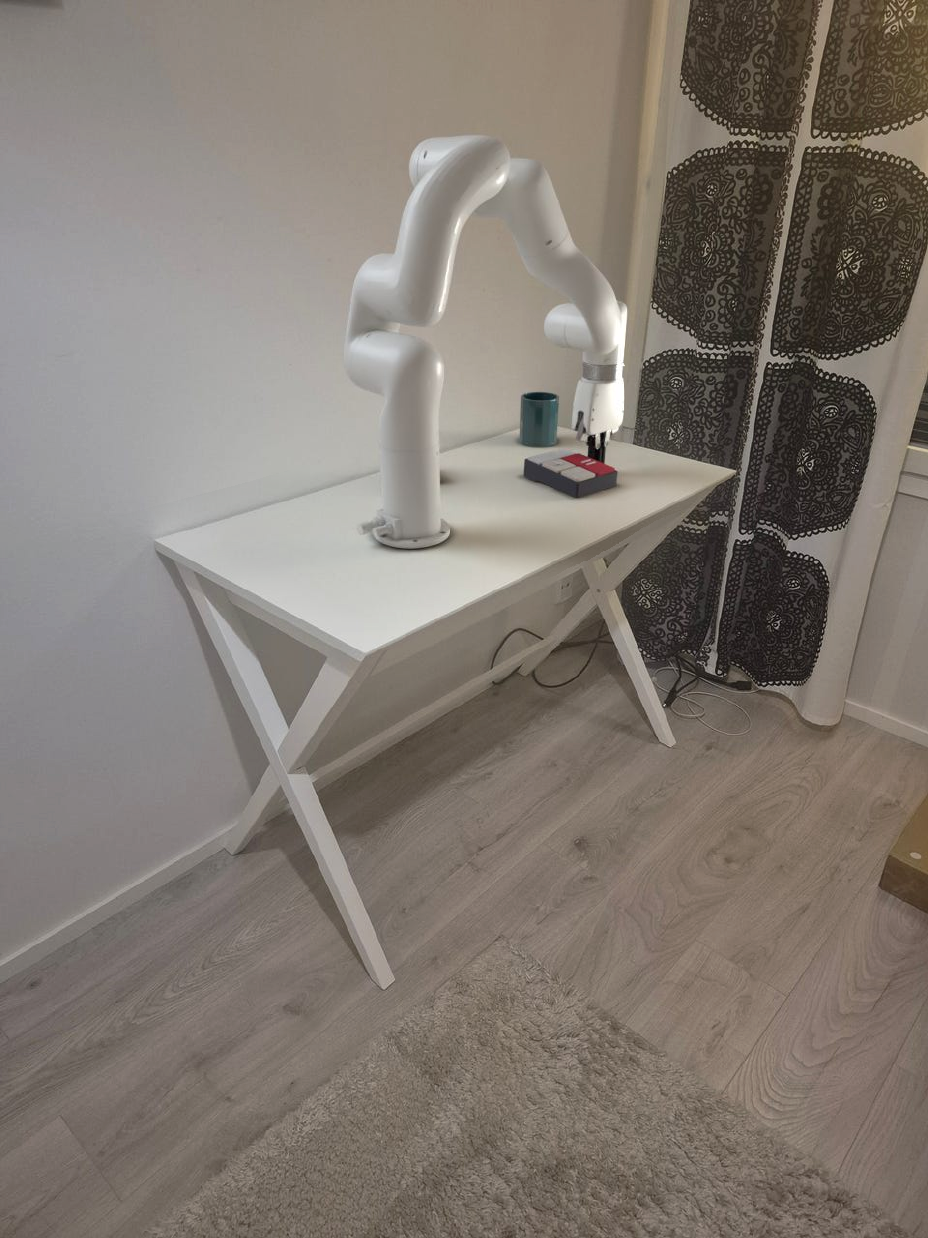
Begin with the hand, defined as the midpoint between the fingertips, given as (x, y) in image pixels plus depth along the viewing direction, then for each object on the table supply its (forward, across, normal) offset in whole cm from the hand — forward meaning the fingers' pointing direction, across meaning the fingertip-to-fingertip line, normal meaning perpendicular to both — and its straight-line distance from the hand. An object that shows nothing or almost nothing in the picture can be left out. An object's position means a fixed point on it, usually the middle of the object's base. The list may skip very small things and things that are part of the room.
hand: (595, 465), depth 159 cm
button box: (+2, +7, 0) cm, 8 cm away
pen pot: (+2, -6, -23) cm, 24 cm away
